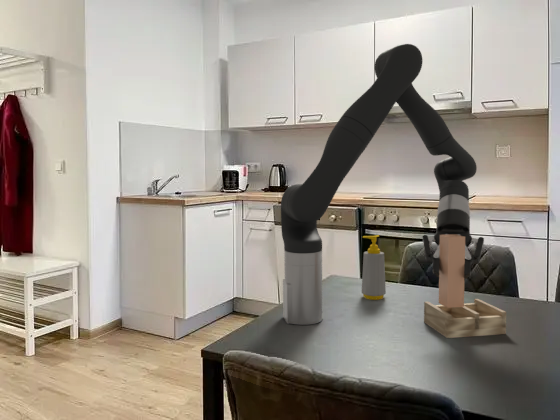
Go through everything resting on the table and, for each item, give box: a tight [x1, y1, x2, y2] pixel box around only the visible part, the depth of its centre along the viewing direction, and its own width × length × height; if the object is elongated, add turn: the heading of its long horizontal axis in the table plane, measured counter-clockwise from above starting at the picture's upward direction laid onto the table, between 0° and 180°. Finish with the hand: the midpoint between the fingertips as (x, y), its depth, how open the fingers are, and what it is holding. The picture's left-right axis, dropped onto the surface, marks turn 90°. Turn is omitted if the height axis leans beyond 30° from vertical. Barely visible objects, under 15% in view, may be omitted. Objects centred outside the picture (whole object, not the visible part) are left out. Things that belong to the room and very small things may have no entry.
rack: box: [423, 298, 507, 339], centre depth 110 cm, size 14×11×5 cm
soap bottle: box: [361, 234, 387, 301], centre depth 136 cm, size 7×7×18 cm
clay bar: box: [438, 234, 465, 308], centre depth 109 cm, size 4×4×16 cm
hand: (451, 275), depth 107 cm, fingers closed on clay bar, 5 cm apart
